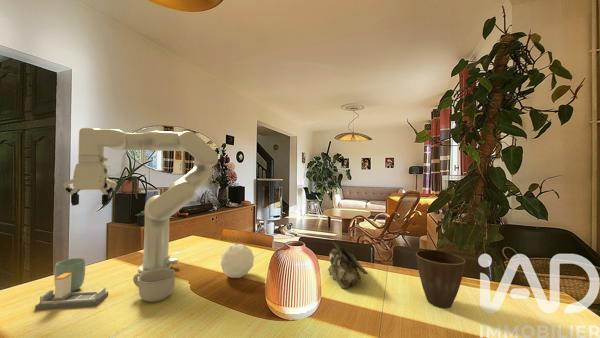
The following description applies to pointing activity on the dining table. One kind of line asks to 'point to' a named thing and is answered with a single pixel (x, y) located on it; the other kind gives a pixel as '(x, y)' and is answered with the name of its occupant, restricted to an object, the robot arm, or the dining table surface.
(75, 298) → the grey tray
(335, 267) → the hollow geode rock
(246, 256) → the geodesic sphere
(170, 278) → the teacup
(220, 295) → the dining table surface
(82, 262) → the cup
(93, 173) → the robot arm
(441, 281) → the plant pot
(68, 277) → the fader tab
